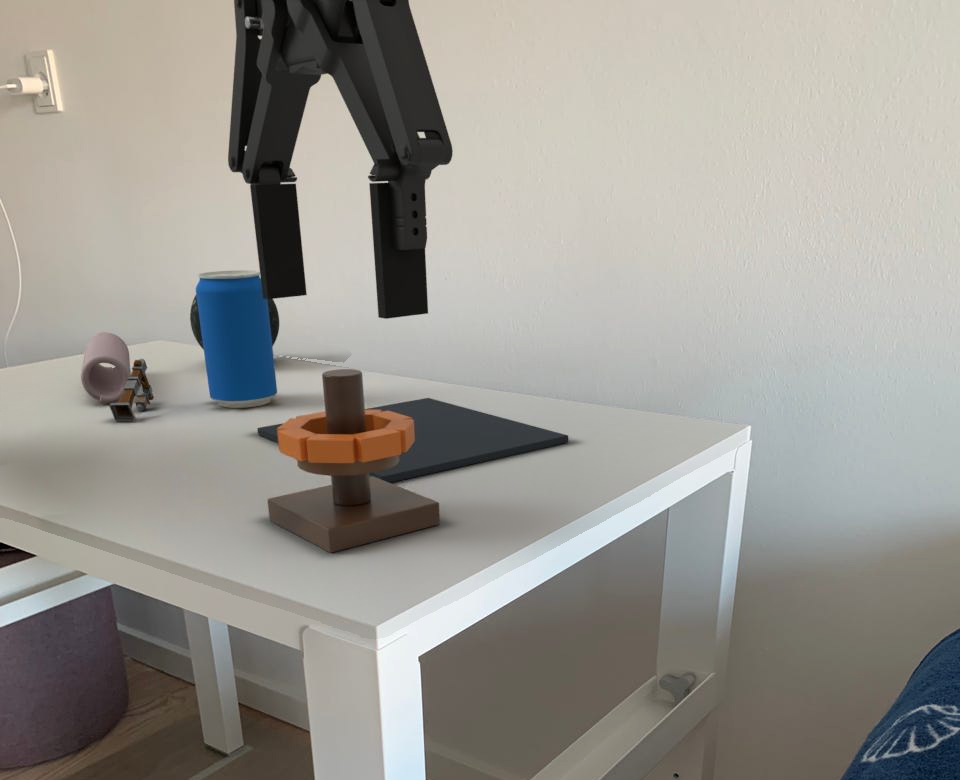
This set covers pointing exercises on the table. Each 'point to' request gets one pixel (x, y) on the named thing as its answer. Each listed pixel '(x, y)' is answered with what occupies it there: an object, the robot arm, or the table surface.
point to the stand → (350, 485)
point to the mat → (453, 438)
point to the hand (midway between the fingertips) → (339, 306)
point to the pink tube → (100, 379)
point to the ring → (346, 438)
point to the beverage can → (236, 338)
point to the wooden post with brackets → (133, 393)
